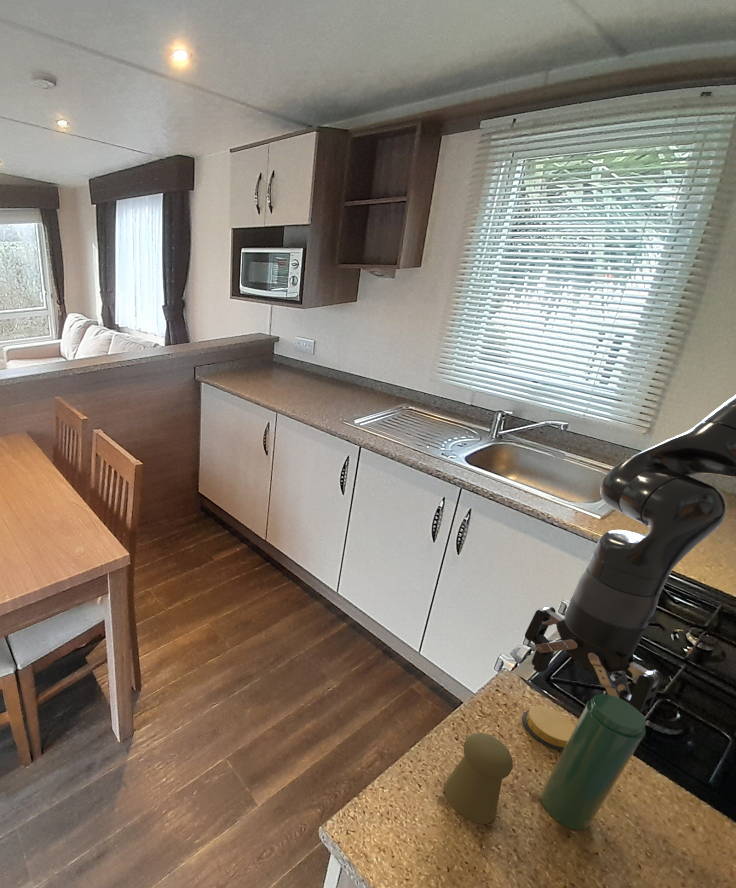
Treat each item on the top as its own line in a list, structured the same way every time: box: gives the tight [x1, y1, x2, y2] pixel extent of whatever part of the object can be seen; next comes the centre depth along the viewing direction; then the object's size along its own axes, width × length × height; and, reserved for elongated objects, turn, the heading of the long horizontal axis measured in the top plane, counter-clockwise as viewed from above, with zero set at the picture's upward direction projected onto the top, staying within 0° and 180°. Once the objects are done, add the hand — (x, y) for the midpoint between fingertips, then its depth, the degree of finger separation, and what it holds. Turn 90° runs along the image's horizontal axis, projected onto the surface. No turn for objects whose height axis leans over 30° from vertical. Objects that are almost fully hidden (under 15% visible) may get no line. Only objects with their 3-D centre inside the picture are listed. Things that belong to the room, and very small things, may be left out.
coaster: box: [521, 709, 564, 751], centre depth 74 cm, size 6×6×1 cm
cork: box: [443, 732, 514, 825], centre depth 63 cm, size 6×6×11 cm
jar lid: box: [526, 705, 576, 747], centre depth 73 cm, size 6×6×2 cm
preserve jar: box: [539, 693, 647, 832], centre depth 60 cm, size 5×5×19 cm
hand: (570, 692), depth 70 cm, fingers open, 8 cm apart
